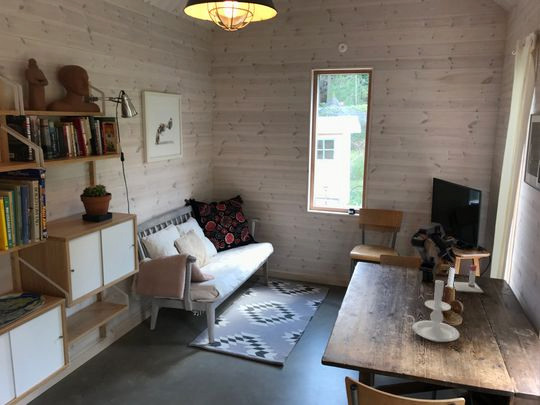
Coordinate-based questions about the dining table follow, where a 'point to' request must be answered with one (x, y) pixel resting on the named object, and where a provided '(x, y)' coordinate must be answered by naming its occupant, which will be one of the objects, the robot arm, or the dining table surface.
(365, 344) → the dining table surface
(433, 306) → the candlestick
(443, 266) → the lion figurine
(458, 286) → the notepad
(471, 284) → the marker
